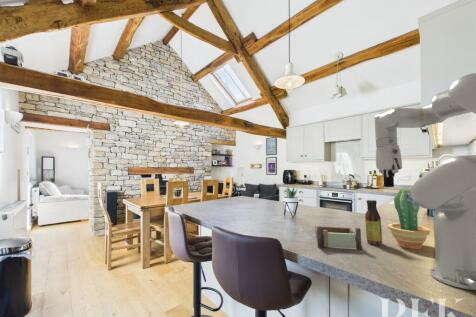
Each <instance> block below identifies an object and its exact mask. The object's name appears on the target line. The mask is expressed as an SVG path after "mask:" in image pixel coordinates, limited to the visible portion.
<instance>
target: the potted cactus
mask: <svg viewBox="0 0 476 317" xmlns="http://www.w3.org/2000/svg"><path fill="white" fill-rule="evenodd" d="M393 203H394V209H395V210H396V212H397V216H398V220H399V223H398V222H394V223H389V224H388V225H387V227H388V228H387V229H388V230H390V232H391V235H392V237H393V238H394V239H395V240H396V241H397V242H396V245H398V246H399V247H402V248H407V249H411V250H415V249H416V250H419V249H423V245H424V243H425V242H426V240H427V237H428V235H430V232H431V228H429V227H426V226H422V225H418V224H419V222H418V221H419V219H418V213H419V211H420V206H419V205H417V204H416V203H415V202H414V201H413V199H412V196H411V189H409V188H406V189H399V191H397V193H396V194H395V196H394V197H393Z"/></svg>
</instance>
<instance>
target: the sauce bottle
mask: <svg viewBox="0 0 476 317" xmlns="http://www.w3.org/2000/svg"><path fill="white" fill-rule="evenodd" d="M377 204H378V202H377V200H376V199H367V200H366V205H367V208H366V209H367V211H366V212H365V215H364V216H365V221H364V222H365V235H366V236H365V237H366V242H367V243H368V244H370V245H373V246H374V245H375V246H380V245H382V244H383V233H382V230H383V229H382V220H381V216H380V213H379V210H378V208H377Z"/></svg>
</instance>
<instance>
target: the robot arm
mask: <svg viewBox="0 0 476 317" xmlns="http://www.w3.org/2000/svg"><path fill="white" fill-rule="evenodd" d="M470 113H473V114H476V72H473V73H468V74H465V75H462V76H461V77H458V79H456V80H455V81H454V82H453V83H452V84H451V86H450V87H449V89H447V90H444V91H442V92H439V93H437V94H436V95H434V97H433V98H432V100H431V104H428V105H426V106H422V107H419V108H408V107H395V108H392V109H389V110H388V111H386V112H383V113H382V112H381V113H379V114H376V115H375V116H374V132H375V134H374V135H375V147H376V150H375V165H376V166H375V167H376V170H378V173H381V176H382V178H383V179H382V180H383V187H385V188H395V179H394V178H395V174H397V173H399V170H401V169H402V168H403V161H402V160H403V159H402V154H401V149H400V146H399V144H398V129H403V128H404V129H408V128H409V129H417V128H423V127H427V126H431V125H436V124H438V123H441V122H443V121H445V120H447V119H449V118H453V117H457V116H461V115H465V114H470ZM397 128H398V129H397ZM410 190H411V196H412V199H413V201H414V202H415V203H416V204H417V205H419V207H421V208H423V209H426V210H434V214H433V220H432V222H433V223H432V224H433V237H434V252H435V256H434V257H435V266H436V267H435V266H434V267H432V268H430V269H429V273H430V276H432V278H434V279H436V281H439V282H441V283H444V284H446V285H449V286H452V287H456V288H459V289H463V290H470V291H476V154H474V155H473V154H472V155H471V154H470V155H468V154H467V155H458V156H453V157H449V158H448V159H446V160H443V161H442V162H440V163H439V164H437V166H435V167H433V168H432V169H430V171H428V172H427V173H426V174H424V175H422V176H421V177H420V178H419V179H417V180H416V181H415V183H414V184H413V185H412V187H411V189H410Z"/></svg>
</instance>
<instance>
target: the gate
mask: <svg viewBox="0 0 476 317" xmlns="http://www.w3.org/2000/svg"><path fill="white" fill-rule="evenodd" d="M323 232H324V245H323V246H324V247H325V248H326V247H327V248H341V249H353V250H354V249H355V250H356V247H355V234H351V233H331V232H327V230H323Z"/></svg>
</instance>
